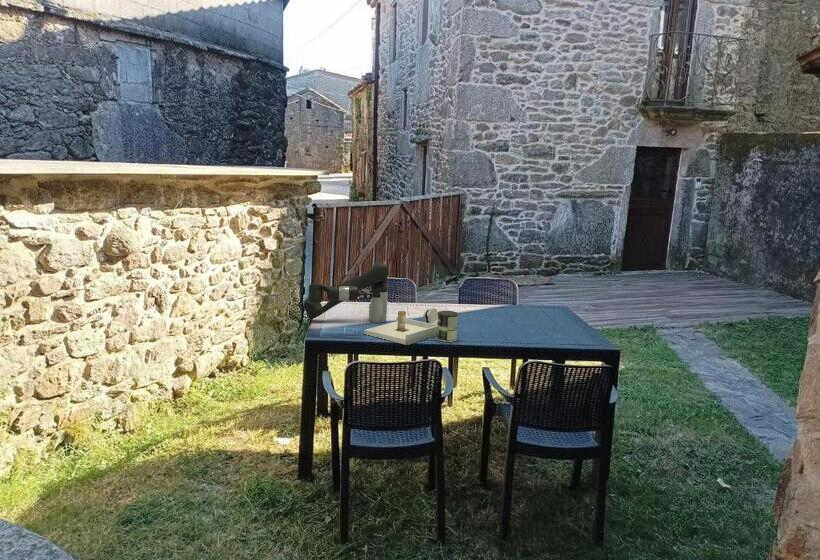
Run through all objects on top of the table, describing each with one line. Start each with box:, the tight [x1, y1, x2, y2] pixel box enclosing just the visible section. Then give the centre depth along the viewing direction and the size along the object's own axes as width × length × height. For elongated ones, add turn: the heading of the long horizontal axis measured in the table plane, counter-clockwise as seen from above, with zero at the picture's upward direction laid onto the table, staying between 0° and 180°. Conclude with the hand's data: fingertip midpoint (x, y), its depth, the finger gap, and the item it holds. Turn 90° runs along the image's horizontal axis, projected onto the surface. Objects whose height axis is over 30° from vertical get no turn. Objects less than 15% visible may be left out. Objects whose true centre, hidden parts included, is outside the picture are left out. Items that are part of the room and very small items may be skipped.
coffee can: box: [436, 310, 459, 343], centre depth 324 cm, size 10×10×14 cm
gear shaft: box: [397, 310, 407, 332], centre depth 331 cm, size 4×4×12 cm
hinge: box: [422, 307, 439, 325], centre depth 355 cm, size 17×5×10 cm, turn 161°
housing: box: [363, 316, 438, 346], centre depth 331 cm, size 28×28×5 cm
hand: (380, 293), depth 324 cm, fingers open, 8 cm apart
